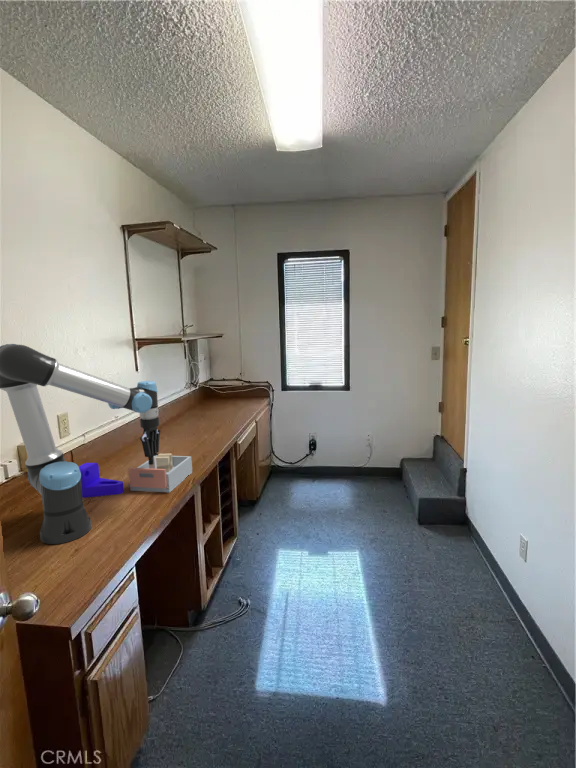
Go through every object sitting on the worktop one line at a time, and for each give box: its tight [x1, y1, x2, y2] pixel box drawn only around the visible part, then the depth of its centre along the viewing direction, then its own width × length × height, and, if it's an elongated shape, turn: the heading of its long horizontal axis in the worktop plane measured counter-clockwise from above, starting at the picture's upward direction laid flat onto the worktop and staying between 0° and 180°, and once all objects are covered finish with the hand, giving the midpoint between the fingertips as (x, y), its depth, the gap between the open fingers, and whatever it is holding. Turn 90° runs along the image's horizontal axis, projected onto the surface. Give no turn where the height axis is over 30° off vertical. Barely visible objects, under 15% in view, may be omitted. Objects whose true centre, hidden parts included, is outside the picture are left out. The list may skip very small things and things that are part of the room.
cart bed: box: [127, 454, 193, 493], centre depth 173 cm, size 24×19×8 cm
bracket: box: [78, 462, 125, 499], centre depth 163 cm, size 18×11×12 cm, turn 85°
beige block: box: [156, 453, 173, 472], centre depth 179 cm, size 6×6×7 cm
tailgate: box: [127, 467, 167, 489], centre depth 161 cm, size 8×16×2 cm
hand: (153, 470), depth 166 cm, fingers closed
